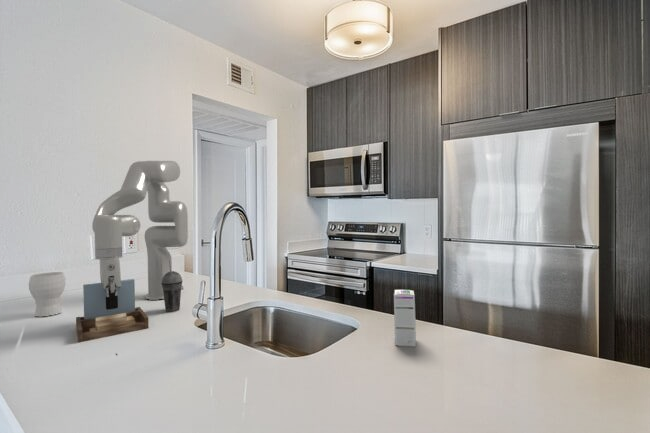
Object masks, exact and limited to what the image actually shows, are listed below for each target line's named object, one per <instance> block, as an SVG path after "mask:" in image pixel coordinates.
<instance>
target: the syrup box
mask: <svg viewBox="0 0 650 433" xmlns="http://www.w3.org/2000/svg"><path fill="white" fill-rule="evenodd" d="M415 296H416V295H415V290H412V289H394V292H393V308H394V309H393V312H394V313H393V314H394V315H393V316H394V345H395V346H399V347H413V348H414V347H415V348H416V346H417V337H416V336H417V334H416V333H417V332H416V322H417V321H416V302H415V301H416V299H415Z"/></svg>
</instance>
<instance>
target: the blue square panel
mask: <svg viewBox="0 0 650 433" xmlns="http://www.w3.org/2000/svg"><path fill="white" fill-rule="evenodd" d="M135 284H136V283H135V279H134V278H129V279H121V288H118V287H117V286H116V288H117V295H118V308H115V309H109V310H106V297H107V294H106V290H104V289H103V287H102V283H101V282H95V283H87V284H83V285H82V287H83V289H82V290H83V294H82V295H83V317H84V320H85V319H91V318H96V317H103V316H108V315H114V314H120V313H126V312H132V311H135V308H136V295H135V293H136V292H135V291H136V288H135V286H136V285H135ZM108 291H109V290H108Z"/></svg>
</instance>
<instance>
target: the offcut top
mask: <svg viewBox="0 0 650 433" xmlns="http://www.w3.org/2000/svg"><path fill="white" fill-rule="evenodd" d="M123 321H127V315H126V313H122V314H115V315H109V316H103V317H96V326H99V325H105V324H111V323H117V322H123Z"/></svg>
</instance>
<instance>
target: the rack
mask: <svg viewBox="0 0 650 433" xmlns="http://www.w3.org/2000/svg"><path fill="white" fill-rule="evenodd" d="M120 314H122V313H120ZM114 315H115V314H114ZM126 315H127V317H128V316H132V317H133V318H134V319H135V322H136V323H134V324H129V325H124V326H119V327H113V328H108V329H103V330H98V331H93V332H90V331H89V328H95V323H96V318H91V319H85V320H84V316H77V317H75V322H76V325H75V326H76V328H75V329H76V335H77V343H83V342H88V341H89V342H90V341H92V340H98V339H102V338H108V337H112V336H118V335H123V334H127V333H132V332H137V331H143V330H146V329H147V330H148V329H149V328H150V327H149V316H148V315H147V314H146V312H144V310H143V309H142V308H141V307H140V306H135V311H132V312H126ZM108 316H109V315H108Z"/></svg>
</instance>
